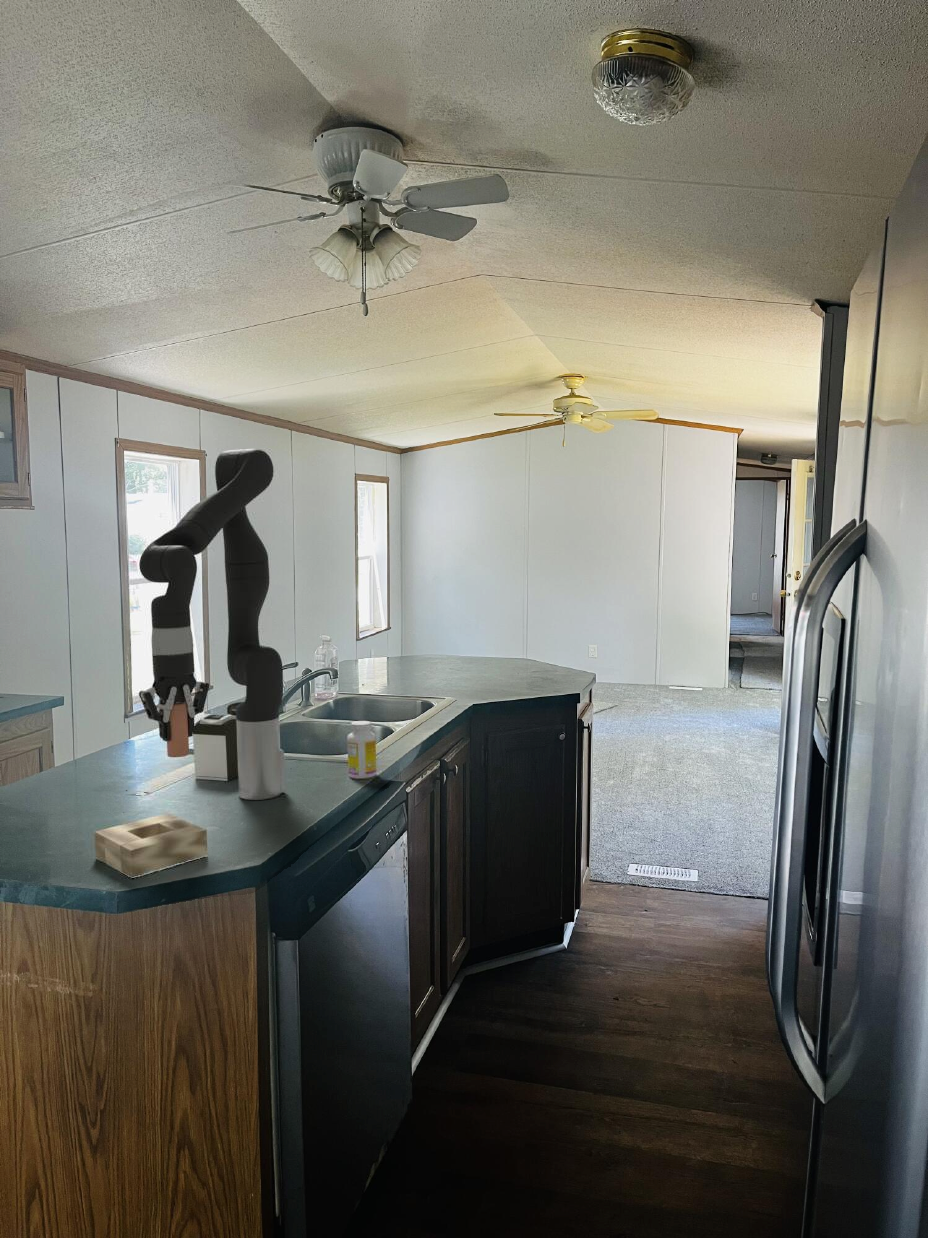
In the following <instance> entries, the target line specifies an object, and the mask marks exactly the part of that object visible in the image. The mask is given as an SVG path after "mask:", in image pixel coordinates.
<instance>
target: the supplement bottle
mask: <svg viewBox="0 0 928 1238" xmlns="http://www.w3.org/2000/svg"><path fill="white" fill-rule="evenodd" d="M350 728H351V733H348V735H347V738H346V739H347V768H348V770H347V772H348V776H349V777H350V778H351V779H356V780H361V779H363V780H365V779H371V778H374V777H375V776H377V749H376V748H377V745H376V743H377V742H376V741H377V740H376V734H375V733H374V732H373V731H371V730H372V729H371V728H372V721H368V720H357V721H356V720H355V721H352V722H351V723H350Z"/></svg>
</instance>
